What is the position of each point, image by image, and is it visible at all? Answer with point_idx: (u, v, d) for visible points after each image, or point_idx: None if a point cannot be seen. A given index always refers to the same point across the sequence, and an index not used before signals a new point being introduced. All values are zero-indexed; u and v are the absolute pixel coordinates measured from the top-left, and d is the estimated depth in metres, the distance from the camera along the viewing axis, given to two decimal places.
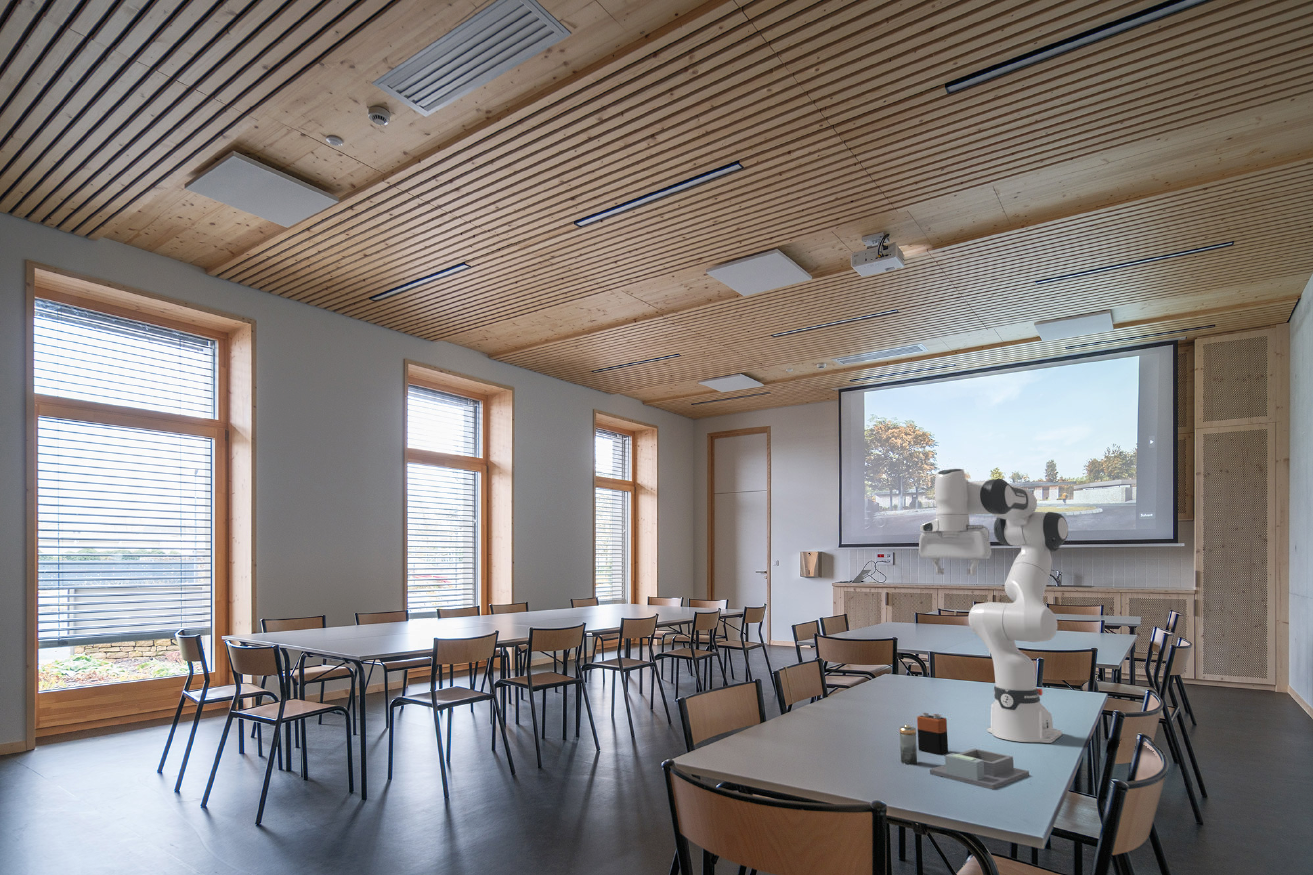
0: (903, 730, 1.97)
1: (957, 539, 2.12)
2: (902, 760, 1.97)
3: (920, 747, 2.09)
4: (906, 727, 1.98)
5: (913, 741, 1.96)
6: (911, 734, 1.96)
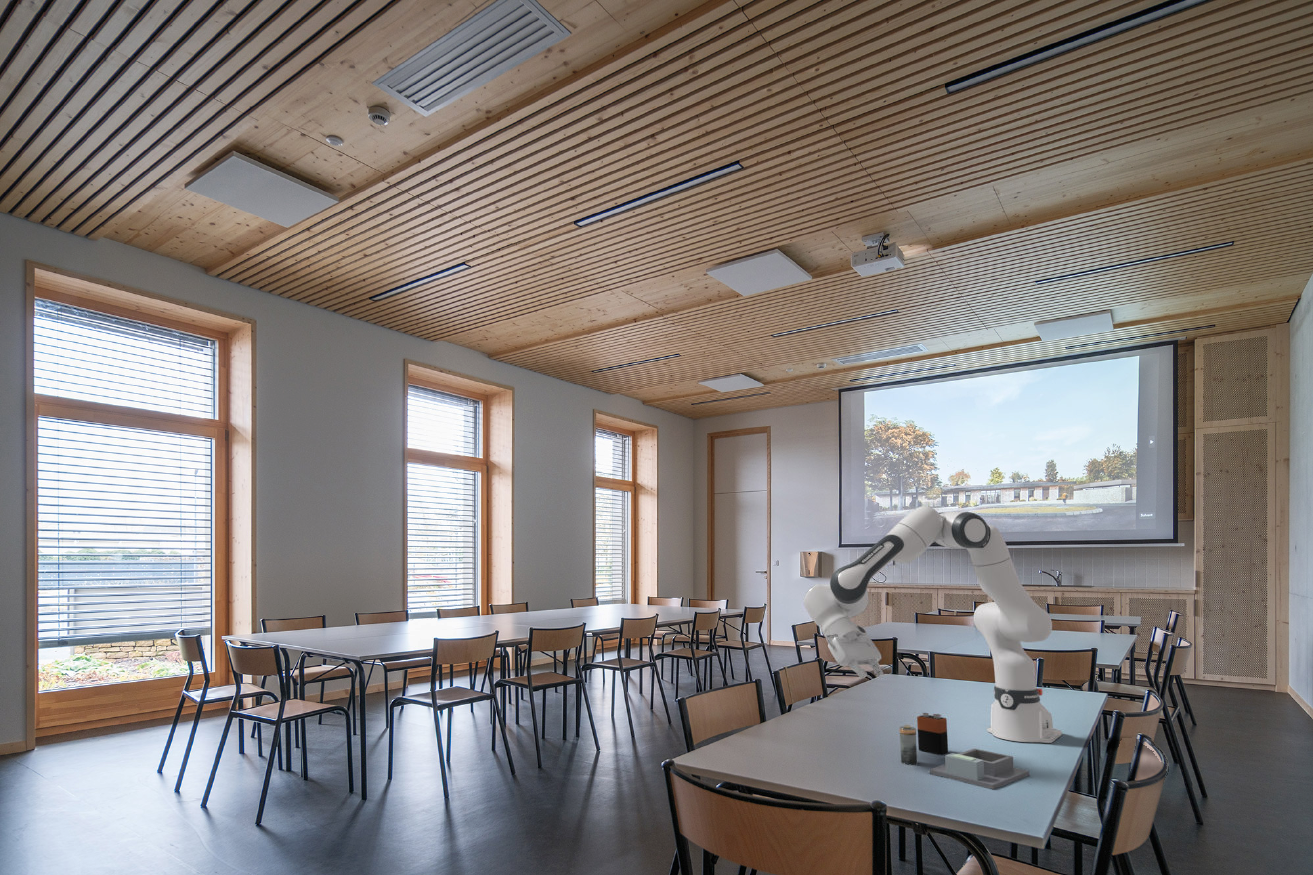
0: (903, 730, 1.97)
1: None
2: (902, 760, 1.97)
3: (920, 747, 2.09)
4: (906, 727, 1.98)
5: (913, 741, 1.96)
6: (911, 734, 1.96)
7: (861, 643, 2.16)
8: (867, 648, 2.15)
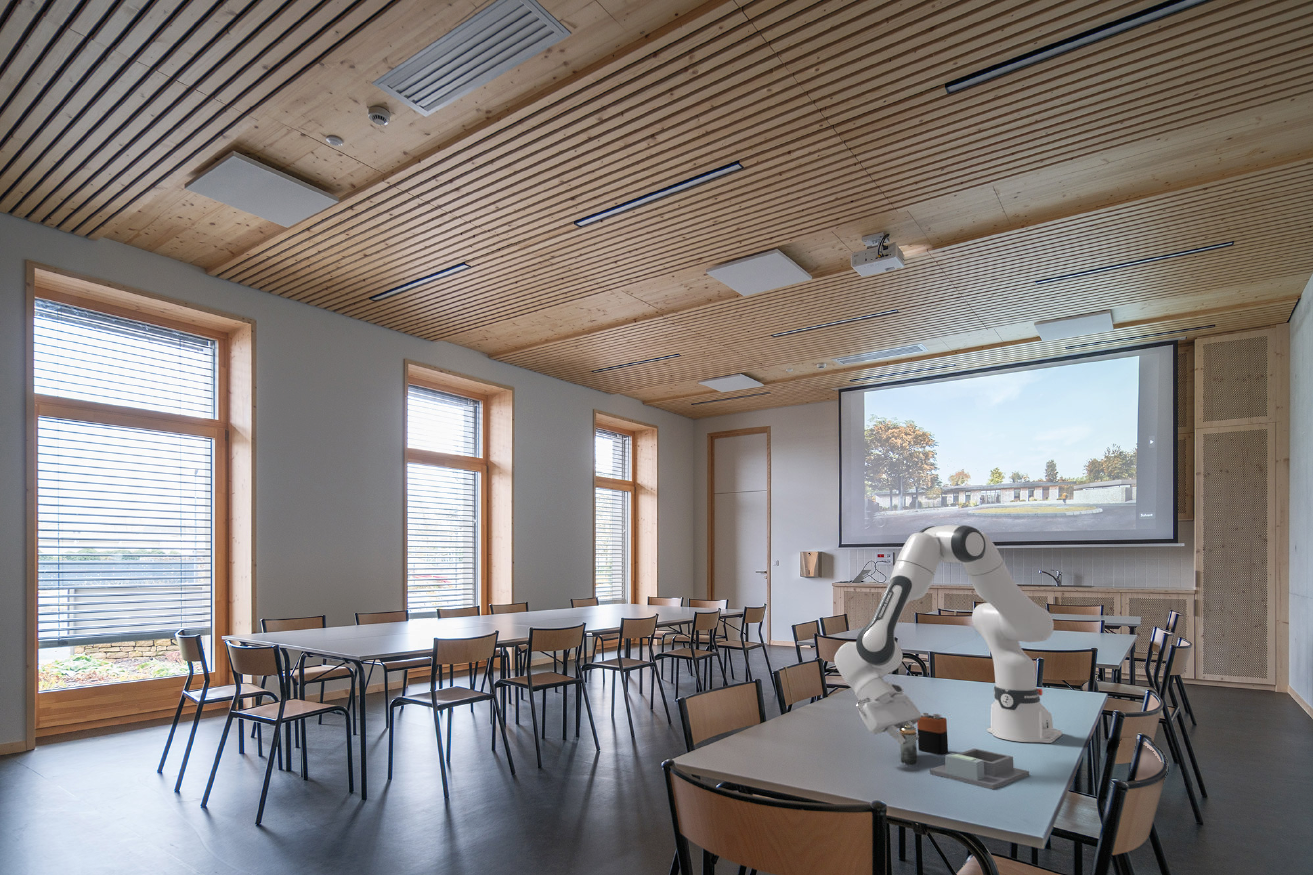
0: (903, 730, 1.97)
1: None
2: (902, 760, 1.97)
3: (920, 747, 2.09)
4: (906, 727, 1.98)
5: (913, 741, 1.96)
6: (911, 734, 1.96)
7: (897, 703, 2.06)
8: (904, 708, 2.05)
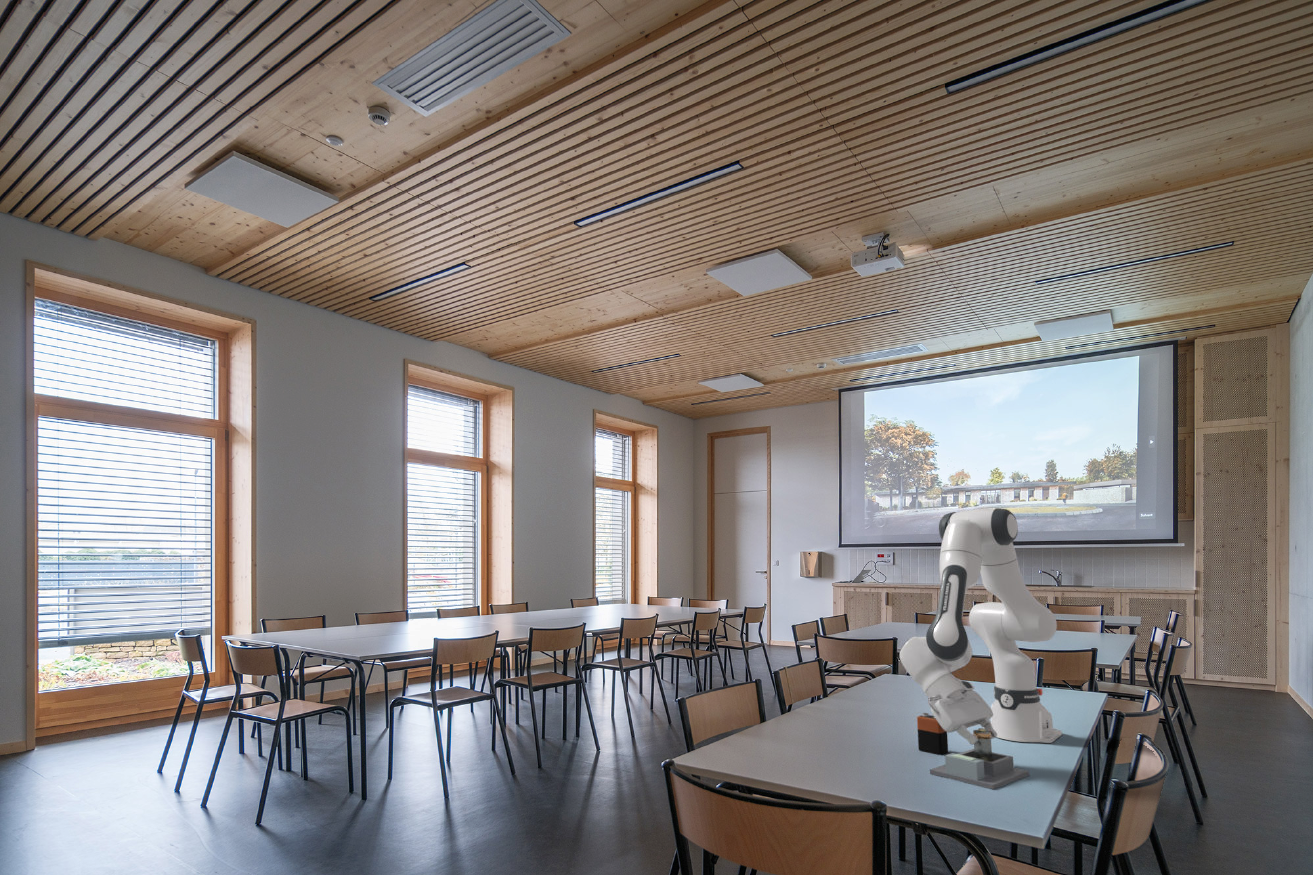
0: (978, 734, 1.88)
1: None
2: None
3: (920, 747, 2.09)
4: (981, 730, 1.89)
5: (988, 745, 1.87)
6: (986, 738, 1.87)
7: (968, 700, 1.97)
8: (976, 706, 1.96)
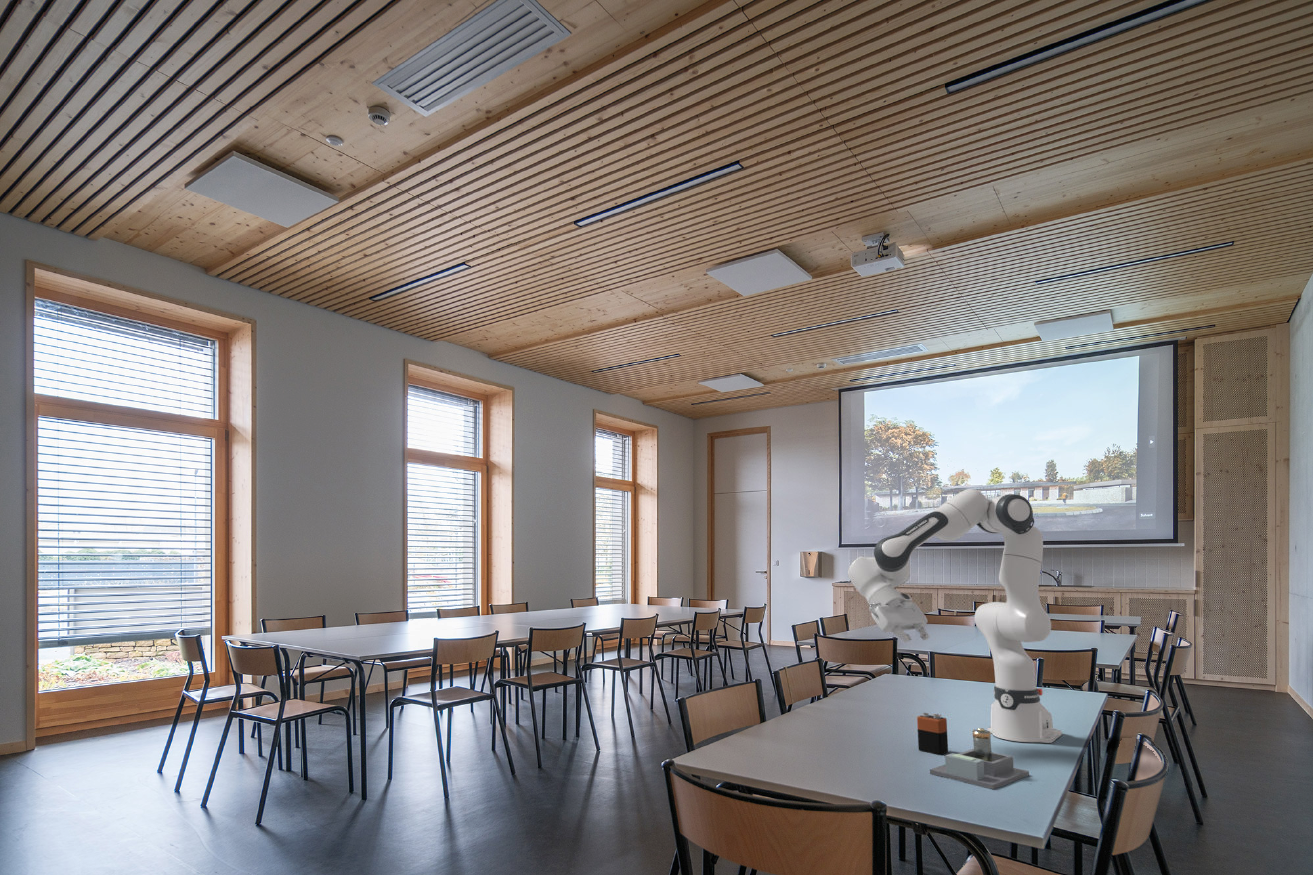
0: (977, 733, 1.88)
1: None
2: None
3: (920, 747, 2.09)
4: (980, 730, 1.89)
5: (988, 745, 1.87)
6: (985, 738, 1.87)
7: (906, 609, 2.25)
8: (912, 613, 2.24)
